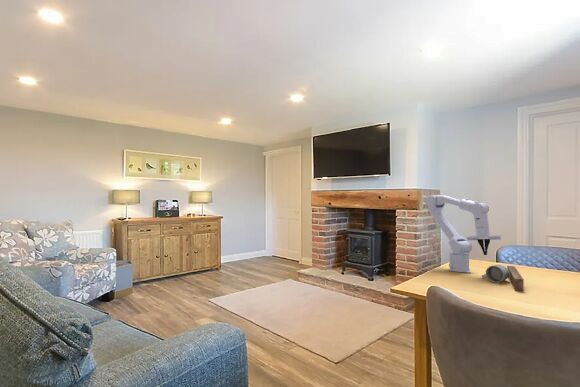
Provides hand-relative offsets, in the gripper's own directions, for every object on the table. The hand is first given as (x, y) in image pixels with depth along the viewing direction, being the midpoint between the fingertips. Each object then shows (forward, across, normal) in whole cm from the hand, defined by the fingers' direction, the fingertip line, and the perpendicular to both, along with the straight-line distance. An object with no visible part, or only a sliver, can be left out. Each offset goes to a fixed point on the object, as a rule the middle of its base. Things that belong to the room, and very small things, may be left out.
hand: (485, 254), depth 160 cm
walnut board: (+12, +10, -7) cm, 17 cm away
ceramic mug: (+12, +2, -6) cm, 13 cm away
